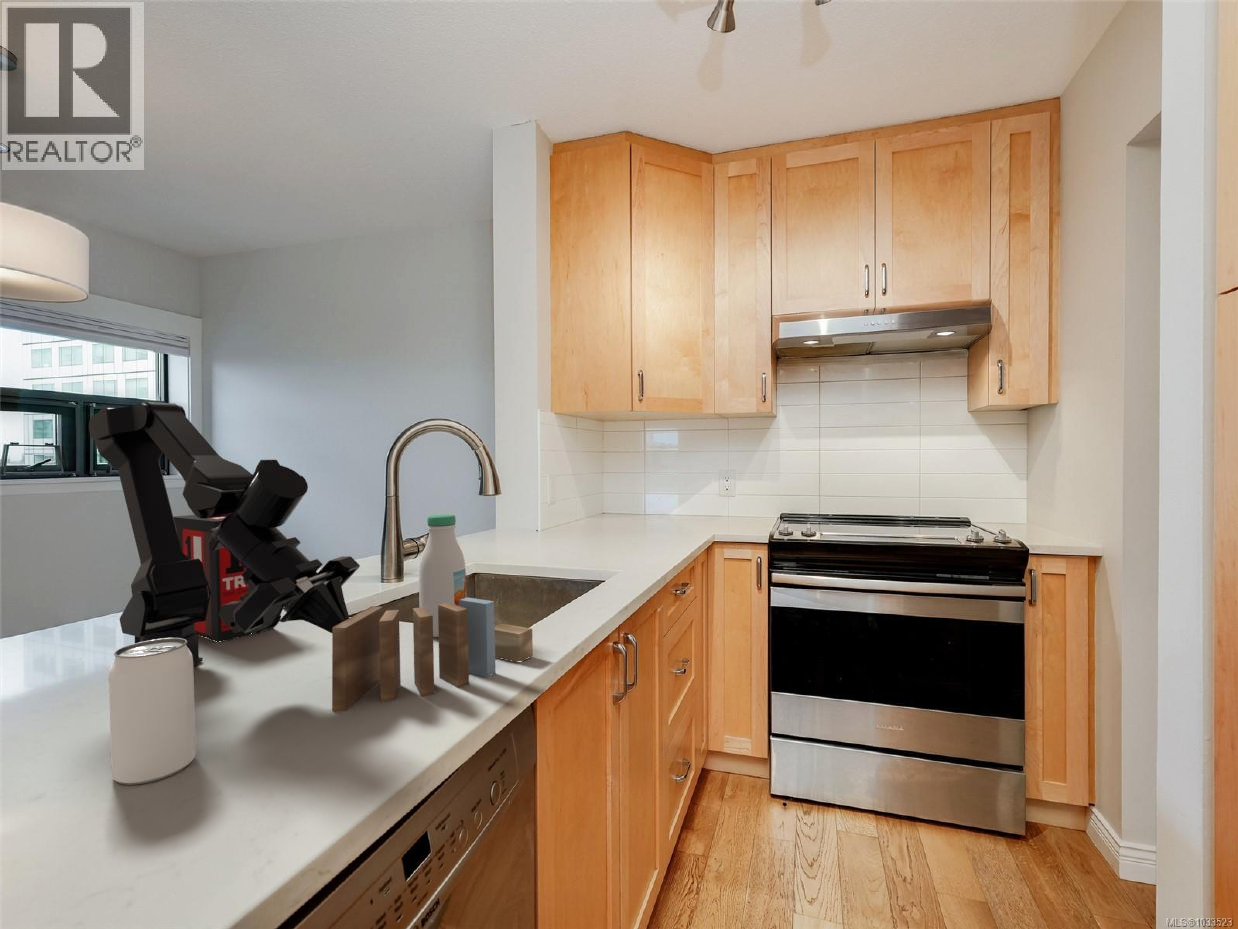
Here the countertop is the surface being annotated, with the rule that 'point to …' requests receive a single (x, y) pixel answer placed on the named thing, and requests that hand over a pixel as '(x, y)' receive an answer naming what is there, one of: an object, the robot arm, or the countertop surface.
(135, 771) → the can
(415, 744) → the countertop surface
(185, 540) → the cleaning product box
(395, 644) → the domino
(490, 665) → the domino
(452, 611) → the domino
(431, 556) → the milk bottle
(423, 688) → the domino
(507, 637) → the block
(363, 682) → the domino
